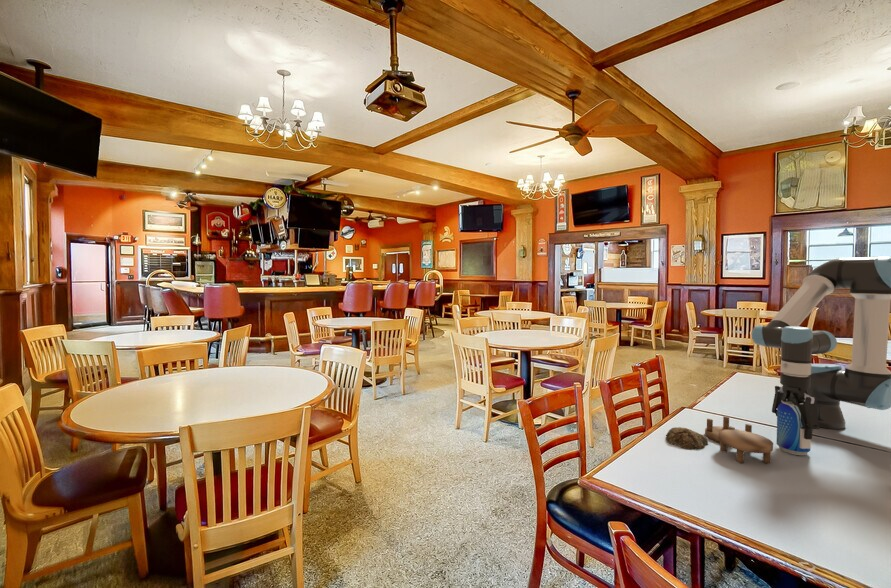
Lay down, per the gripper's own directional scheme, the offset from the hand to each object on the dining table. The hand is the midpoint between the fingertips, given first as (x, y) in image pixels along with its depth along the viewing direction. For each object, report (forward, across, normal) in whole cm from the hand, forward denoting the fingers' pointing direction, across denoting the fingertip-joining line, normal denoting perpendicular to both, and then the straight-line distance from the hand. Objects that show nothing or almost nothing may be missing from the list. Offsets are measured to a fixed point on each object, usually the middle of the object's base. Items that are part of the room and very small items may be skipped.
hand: (793, 442), depth 131 cm
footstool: (+3, +4, -18) cm, 19 cm away
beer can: (+3, 0, 0) cm, 3 cm away
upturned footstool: (+3, -10, -14) cm, 18 cm away
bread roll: (+4, -6, -31) cm, 32 cm away
